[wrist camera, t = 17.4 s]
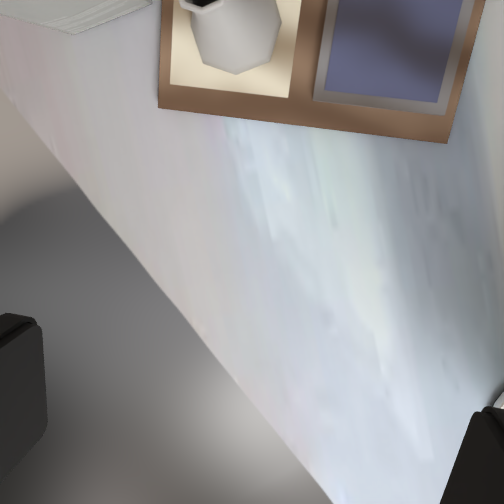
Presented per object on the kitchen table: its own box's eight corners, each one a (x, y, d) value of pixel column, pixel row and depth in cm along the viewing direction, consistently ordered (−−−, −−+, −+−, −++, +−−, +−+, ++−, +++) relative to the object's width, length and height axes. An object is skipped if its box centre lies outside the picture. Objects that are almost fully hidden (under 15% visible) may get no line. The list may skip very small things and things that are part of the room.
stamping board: (443, 143, 32) (451, 144, 30) (162, 108, 35) (152, 107, 33) (497, -62, 27) (511, -77, 25) (170, -84, 30) (159, -99, 28)
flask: (193, 76, 32) (143, 55, 23) (189, -26, 30) (131, -96, 21) (281, 74, 31) (265, 51, 22) (283, -32, 29) (267, -108, 20)
